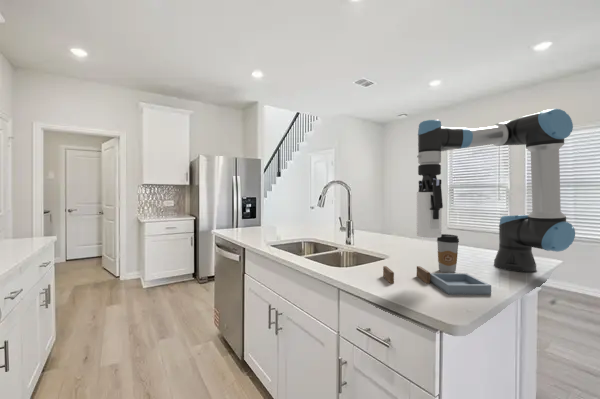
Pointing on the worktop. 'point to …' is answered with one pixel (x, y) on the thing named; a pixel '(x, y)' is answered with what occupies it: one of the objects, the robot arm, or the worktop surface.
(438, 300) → the worktop surface
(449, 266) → the coffee cup
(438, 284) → the tray
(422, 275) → the clip rails
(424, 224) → the cup
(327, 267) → the worktop surface
